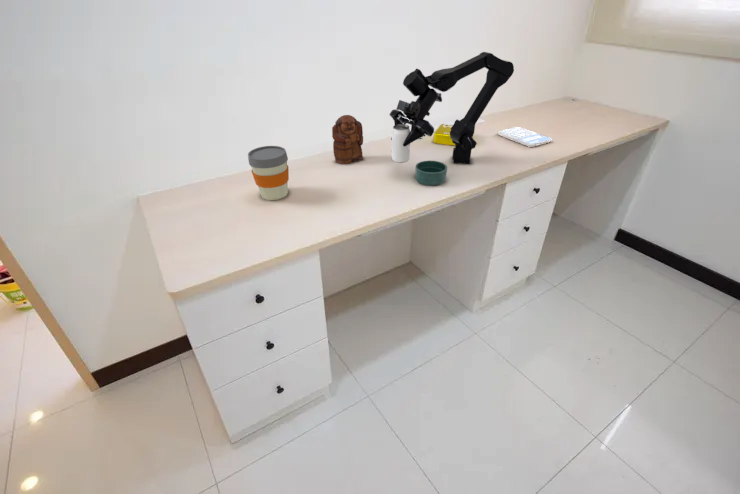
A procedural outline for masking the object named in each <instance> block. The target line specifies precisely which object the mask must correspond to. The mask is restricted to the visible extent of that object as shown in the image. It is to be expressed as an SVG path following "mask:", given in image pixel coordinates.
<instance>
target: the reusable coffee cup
mask: <svg viewBox="0 0 740 494" xmlns="http://www.w3.org/2000/svg"><path fill="white" fill-rule="evenodd" d="M247 158H248V165H249V166H250V168H251V174H252V177H253V180H254V183H255V185H256V186H257V187H258V190H259V193H260V195H261V198H262V199H264V200H266V201H277V200H281V199H283V198H285V197H287V195H288V194H289V189H288V182H289V180H290V178H289V177H290V176H289V175H290V174H289V164H288V159H289V158H288V153H287V150H286V149H285V147H282V146H279V145H264V146H259V147H256V148H253V149H251V150H250V151H249V152H248V153H247Z"/></svg>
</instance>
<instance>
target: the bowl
mask: <svg viewBox="0 0 740 494" xmlns="http://www.w3.org/2000/svg"><path fill="white" fill-rule="evenodd" d="M414 170H415V171H414V179H415V181H416V182H417V183H418V184H420V185H424V186H428V187H429V186H430V187H432V186H433V187H434V186H439V185H442V184H443V183H445V182H446V181H447V175H448V174H447V173H448V166H447V164H446V163H444V162H441V161H437V160H422V161H419V162H418V163H416V164H415V169H414Z"/></svg>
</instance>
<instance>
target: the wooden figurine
mask: <svg viewBox="0 0 740 494" xmlns="http://www.w3.org/2000/svg"><path fill="white" fill-rule="evenodd" d="M363 130H364V129H363V124H362V123H361V122H360V121H359V120H357V119H356V117H355V116H353V115H350V114H343V115H341V116H340V117H339V118H337V119H336V120H335V124H334V125H332V127H331V138H332V139H333V143H332V146H333V147H332V150H333V156H334V160H335V162H336V163H338V164H342V165H350V164H351V163H356V162H358V161H361V160H363V159H364V158H363V156H364V155H363V149H362V146H363V144H364V136H363V134H364V131H363Z"/></svg>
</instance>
